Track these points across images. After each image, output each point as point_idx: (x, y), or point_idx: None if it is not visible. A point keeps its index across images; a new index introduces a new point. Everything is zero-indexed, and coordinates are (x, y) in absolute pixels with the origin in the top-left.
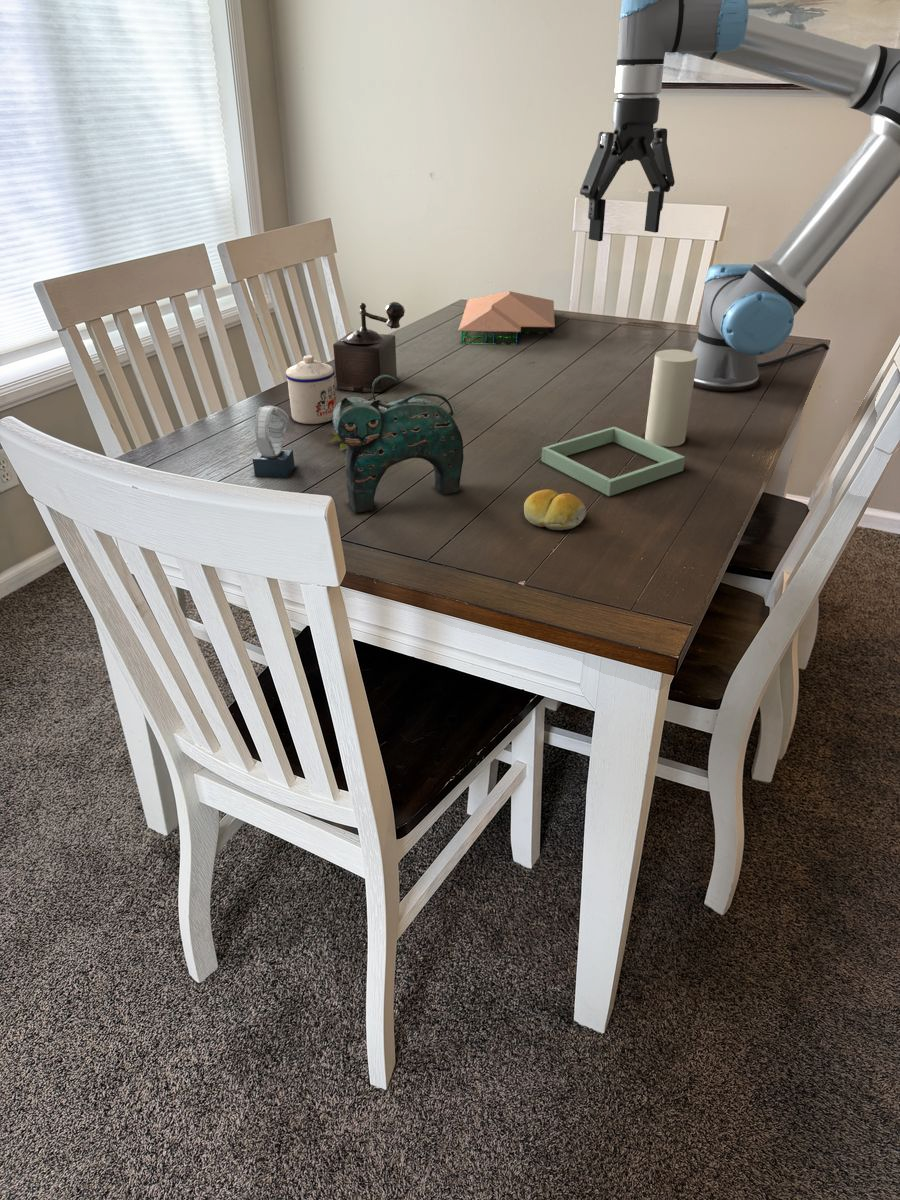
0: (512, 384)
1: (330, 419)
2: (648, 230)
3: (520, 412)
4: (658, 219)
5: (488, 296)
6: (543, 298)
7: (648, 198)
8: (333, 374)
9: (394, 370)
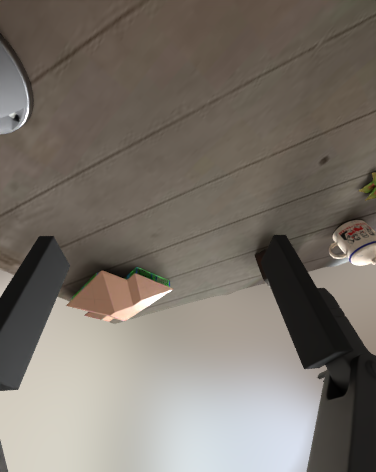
0: (205, 208)
1: (353, 220)
2: (63, 257)
3: (257, 152)
4: (25, 267)
5: (119, 317)
6: (76, 307)
7: (29, 358)
8: (365, 244)
9: (261, 258)
